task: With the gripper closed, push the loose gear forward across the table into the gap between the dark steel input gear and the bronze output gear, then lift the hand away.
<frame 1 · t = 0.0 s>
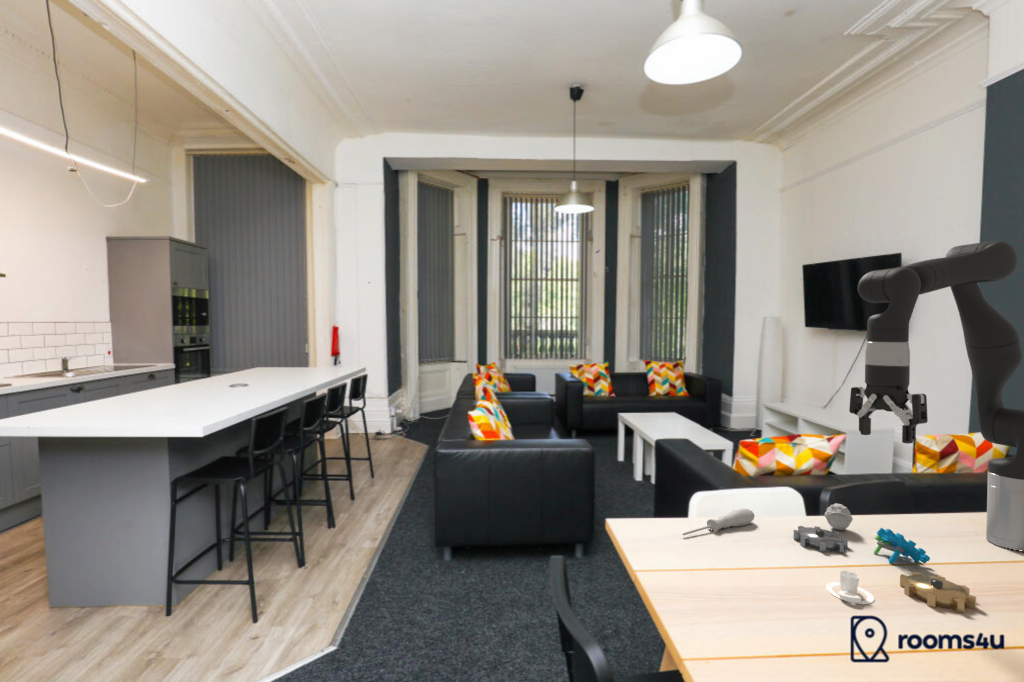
hand: (885, 438, 103), 29 cm above the table, tool pointing down, fingers open, 8 cm apart
gear: (899, 561, 110), on the table
output gear: (936, 596, 95), on the table
screwdriver: (718, 530, 127), on the table
grey rounded lump: (838, 530, 127), on the table
teacup and saucer: (832, 595, 96), on the table
input gear: (819, 542, 119), on the table
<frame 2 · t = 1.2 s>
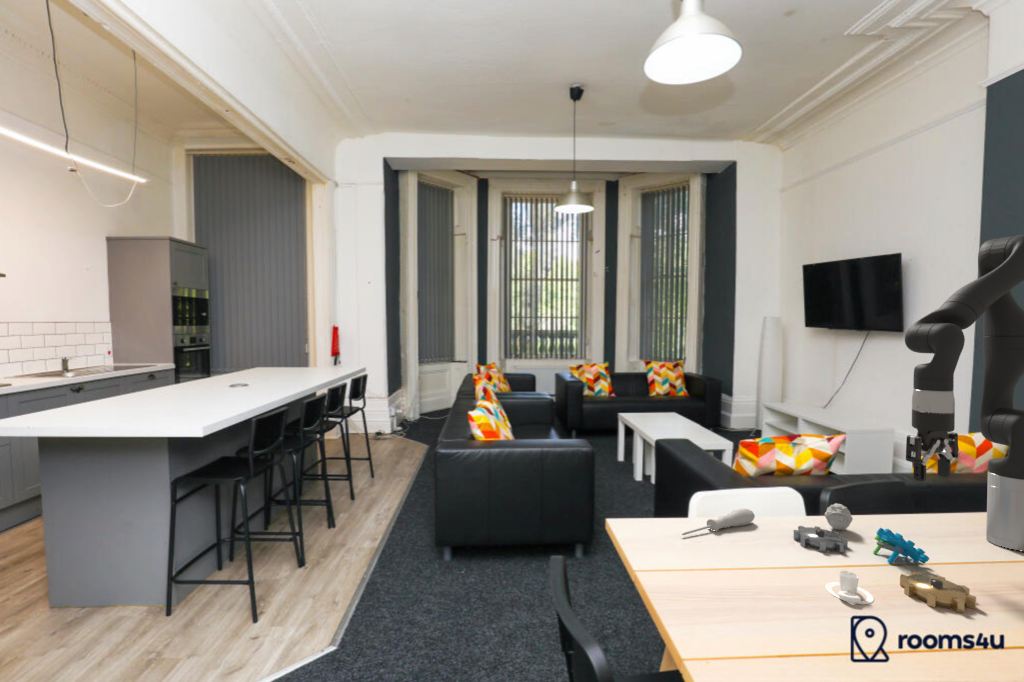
hand: (931, 478, 112), 18 cm above the table, tool pointing down, fingers open, 8 cm apart
nothing on the table moved.
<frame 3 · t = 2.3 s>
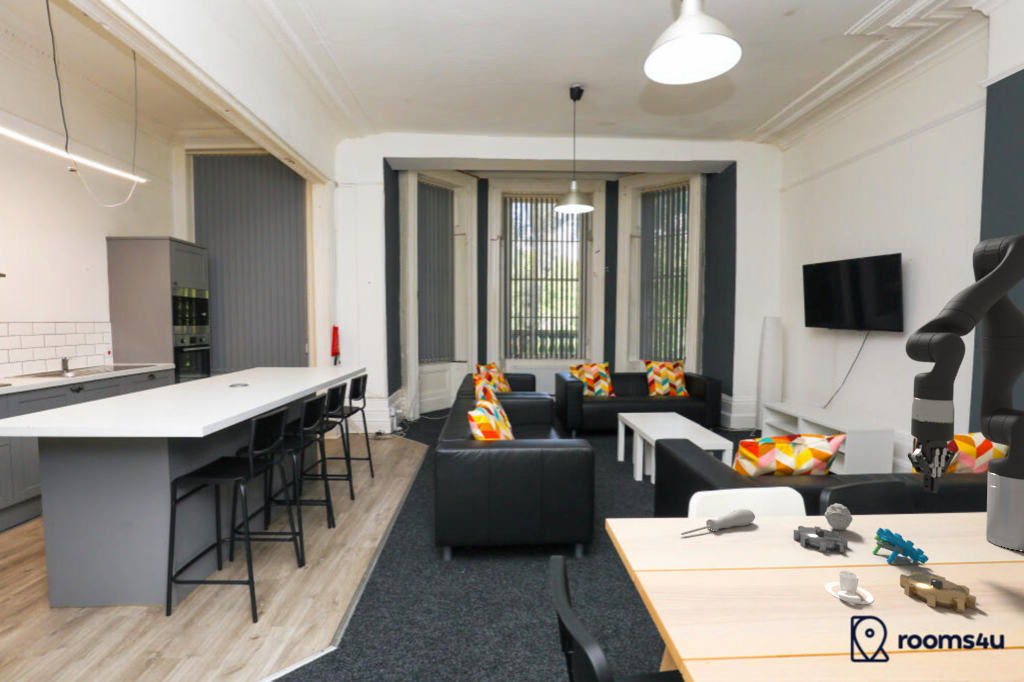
hand: (930, 491, 112), 15 cm above the table, tool pointing down, fingers closed
nothing on the table moved.
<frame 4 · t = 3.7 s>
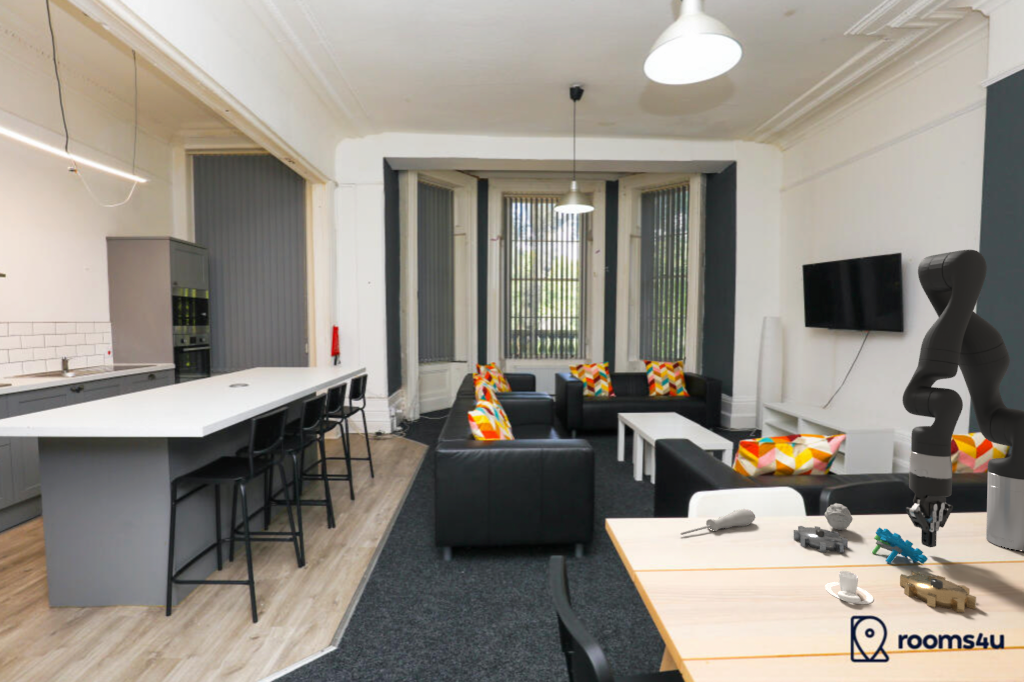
hand: (928, 545, 113), 2 cm above the table, tool pointing down, fingers closed
nothing on the table moved.
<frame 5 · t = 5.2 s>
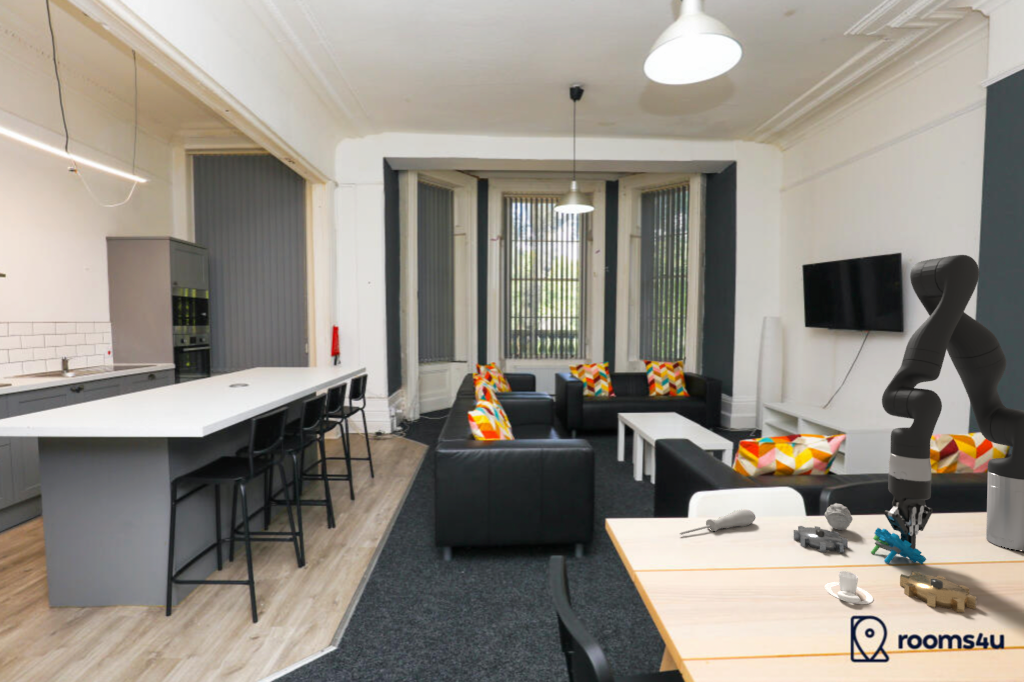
hand: (907, 549, 110), 2 cm above the table, tool pointing down, fingers closed
gear: (896, 561, 110), on the table, touching gripper
everything else where it was.
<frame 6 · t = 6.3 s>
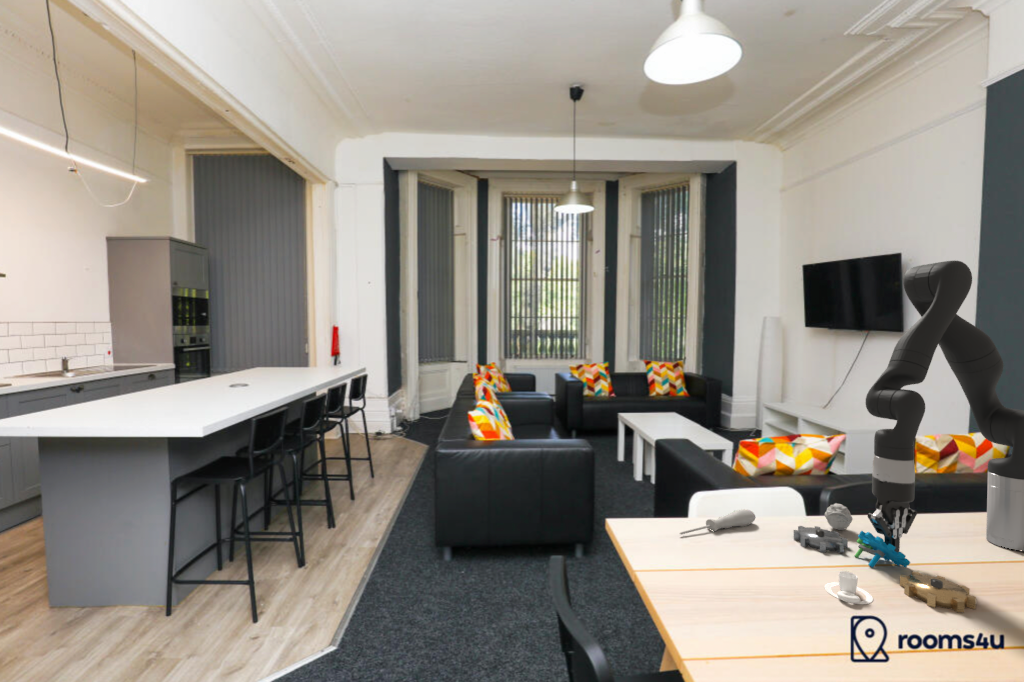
hand: (891, 552, 109), 2 cm above the table, tool pointing down, fingers closed
gear: (880, 565, 108), on the table
everything else where it was.
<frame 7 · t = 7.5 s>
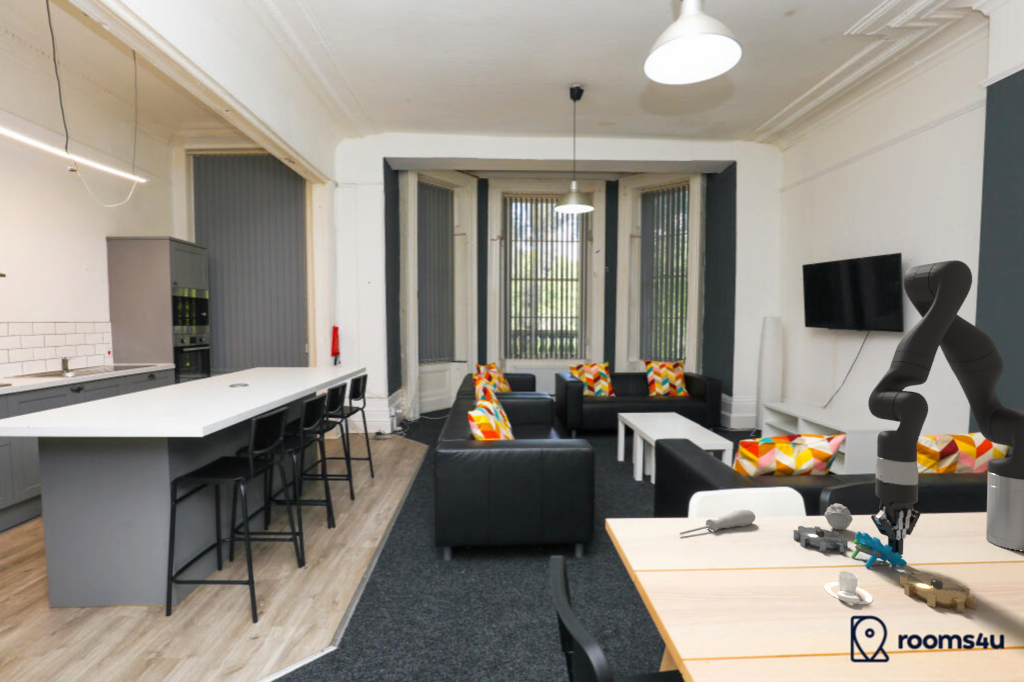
hand: (895, 553, 109), 2 cm above the table, tool pointing down, fingers closed
gear: (877, 566, 108), on the table
everything else where it was.
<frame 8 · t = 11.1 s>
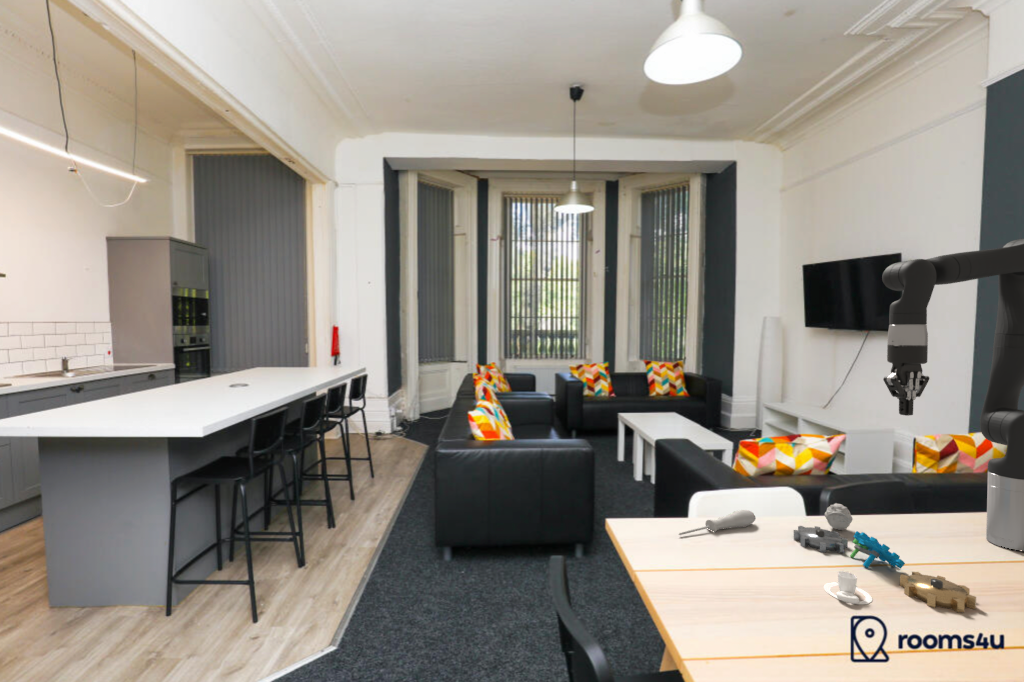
hand: (905, 414, 116), 32 cm above the table, tool pointing down, fingers closed
nothing on the table moved.
at the end: gear 1.6 cm from the target spot, on the table; gear tilted 0° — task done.
